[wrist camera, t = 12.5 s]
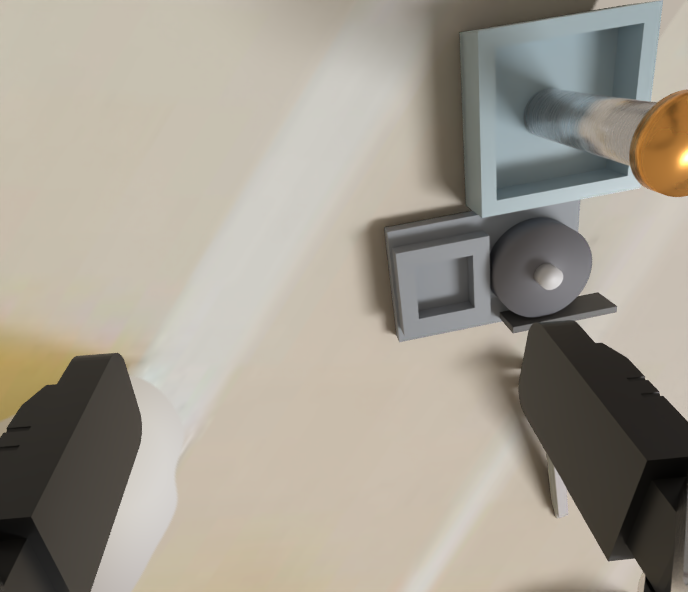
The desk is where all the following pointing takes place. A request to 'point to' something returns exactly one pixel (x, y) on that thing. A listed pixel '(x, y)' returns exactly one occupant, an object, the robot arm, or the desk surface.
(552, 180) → the tray
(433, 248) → the plate
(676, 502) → the robot arm
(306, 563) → the desk surface
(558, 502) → the caliper
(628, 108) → the pin
